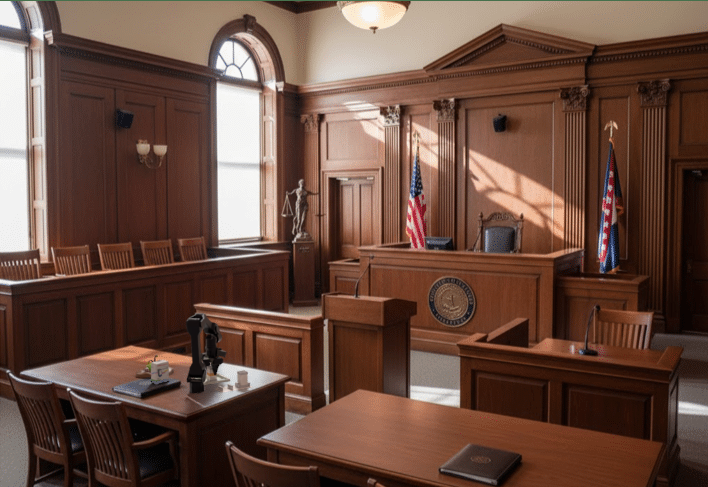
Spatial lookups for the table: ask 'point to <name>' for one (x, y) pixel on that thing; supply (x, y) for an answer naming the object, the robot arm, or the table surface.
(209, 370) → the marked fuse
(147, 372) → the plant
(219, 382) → the tray
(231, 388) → the block
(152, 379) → the ink box
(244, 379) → the plain fuse
